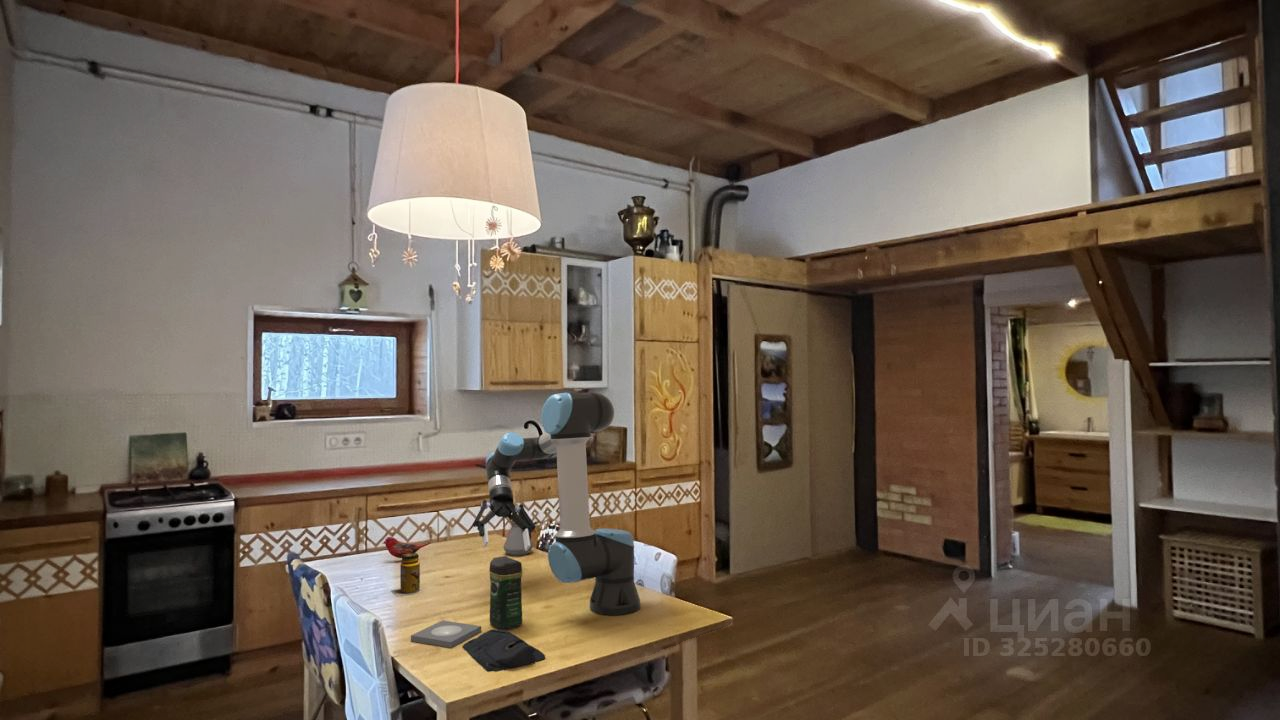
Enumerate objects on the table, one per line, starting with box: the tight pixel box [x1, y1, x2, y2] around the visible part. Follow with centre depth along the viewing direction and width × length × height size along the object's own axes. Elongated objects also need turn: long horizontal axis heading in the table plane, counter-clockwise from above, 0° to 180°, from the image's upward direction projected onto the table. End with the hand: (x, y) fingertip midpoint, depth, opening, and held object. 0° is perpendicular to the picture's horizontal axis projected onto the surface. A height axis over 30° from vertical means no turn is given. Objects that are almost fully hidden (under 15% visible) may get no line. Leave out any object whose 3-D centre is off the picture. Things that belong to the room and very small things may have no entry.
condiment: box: [391, 552, 424, 597], centre depth 238 cm, size 7×8×12 cm
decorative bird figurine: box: [382, 536, 431, 563], centre depth 277 cm, size 3×18×10 cm, turn 115°
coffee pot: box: [503, 520, 542, 557], centre depth 285 cm, size 21×12×15 cm, turn 40°
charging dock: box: [410, 620, 482, 649], centre depth 196 cm, size 13×13×2 cm
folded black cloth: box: [462, 629, 546, 673], centre depth 184 cm, size 15×22×5 cm
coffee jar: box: [488, 555, 523, 630], centre depth 206 cm, size 10×8×19 cm
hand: (507, 546), depth 226 cm, fingers open, 13 cm apart
